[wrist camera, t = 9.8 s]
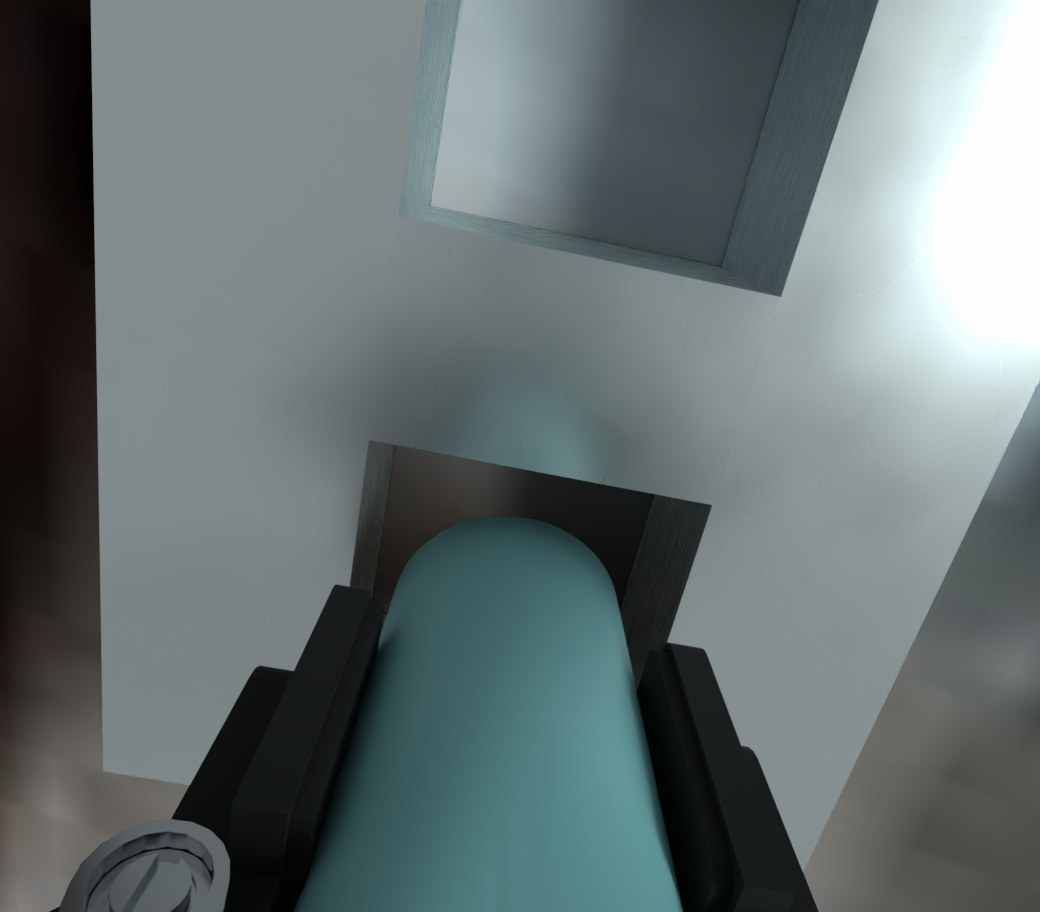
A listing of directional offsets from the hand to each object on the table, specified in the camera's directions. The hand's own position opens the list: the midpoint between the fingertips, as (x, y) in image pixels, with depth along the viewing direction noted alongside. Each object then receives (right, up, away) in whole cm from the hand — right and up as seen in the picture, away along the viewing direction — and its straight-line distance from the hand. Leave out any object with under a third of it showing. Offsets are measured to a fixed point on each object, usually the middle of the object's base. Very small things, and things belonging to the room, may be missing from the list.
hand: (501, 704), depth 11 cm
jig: (+1, +6, +3) cm, 7 cm away
